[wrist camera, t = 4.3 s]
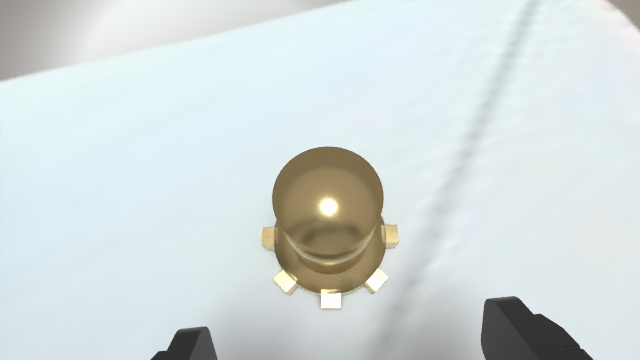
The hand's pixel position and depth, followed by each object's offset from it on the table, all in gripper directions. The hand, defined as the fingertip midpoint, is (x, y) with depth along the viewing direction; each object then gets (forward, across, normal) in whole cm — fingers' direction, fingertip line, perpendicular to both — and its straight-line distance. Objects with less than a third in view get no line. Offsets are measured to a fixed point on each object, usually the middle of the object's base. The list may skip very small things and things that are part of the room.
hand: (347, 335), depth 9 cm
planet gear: (+10, 0, +3) cm, 10 cm away
